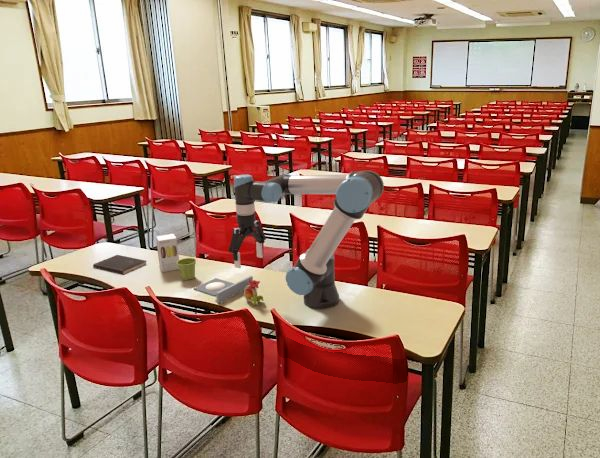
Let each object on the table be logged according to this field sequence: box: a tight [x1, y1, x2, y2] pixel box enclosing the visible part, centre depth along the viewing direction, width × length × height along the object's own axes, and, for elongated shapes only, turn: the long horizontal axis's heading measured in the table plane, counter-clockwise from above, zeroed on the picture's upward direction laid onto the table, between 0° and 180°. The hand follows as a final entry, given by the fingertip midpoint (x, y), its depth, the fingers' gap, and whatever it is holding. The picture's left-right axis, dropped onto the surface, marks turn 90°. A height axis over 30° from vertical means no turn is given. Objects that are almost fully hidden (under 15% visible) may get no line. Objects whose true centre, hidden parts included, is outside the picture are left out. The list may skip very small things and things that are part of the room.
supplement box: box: [155, 233, 180, 273], centre depth 251 cm, size 10×9×17 cm
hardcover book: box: [92, 254, 147, 275], centre depth 259 cm, size 16×23×2 cm
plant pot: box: [177, 257, 197, 281], centre depth 238 cm, size 9×9×9 cm
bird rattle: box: [243, 279, 264, 306], centre depth 208 cm, size 6×11×9 cm
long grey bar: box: [215, 275, 254, 304], centre depth 219 cm, size 4×22×4 cm, turn 143°
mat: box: [193, 277, 235, 297], centre depth 227 cm, size 14×14×1 cm
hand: (249, 262), depth 204 cm, fingers open, 13 cm apart
